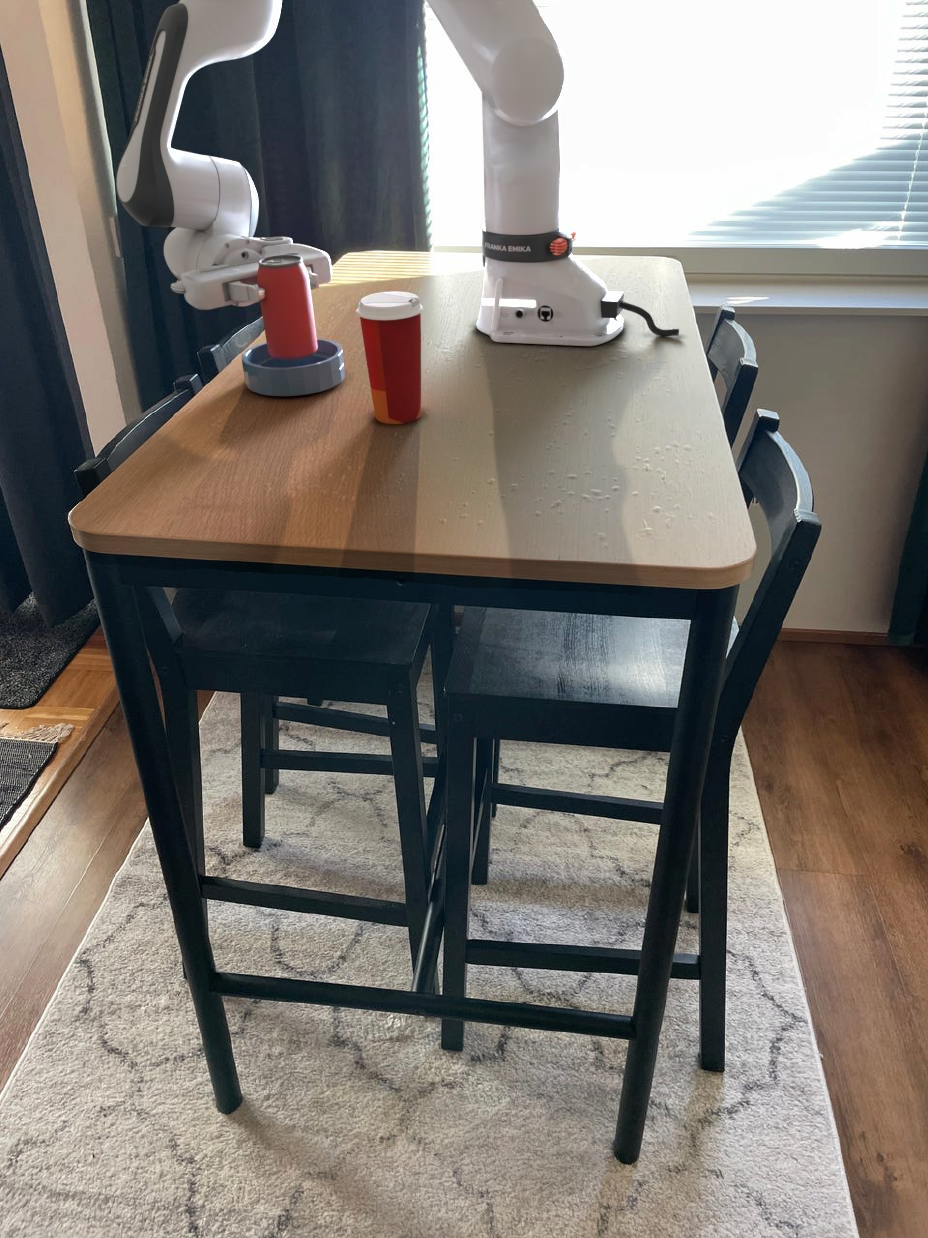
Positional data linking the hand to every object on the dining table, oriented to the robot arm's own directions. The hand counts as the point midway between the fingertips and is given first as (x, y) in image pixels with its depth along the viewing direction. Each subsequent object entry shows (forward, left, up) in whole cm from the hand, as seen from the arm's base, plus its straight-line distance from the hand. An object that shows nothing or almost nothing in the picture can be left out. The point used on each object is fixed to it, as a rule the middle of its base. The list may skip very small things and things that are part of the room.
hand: (288, 288), depth 117 cm
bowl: (+1, 0, -12) cm, 12 cm away
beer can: (+1, 0, -9) cm, 9 cm away
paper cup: (-18, +6, -13) cm, 23 cm away
